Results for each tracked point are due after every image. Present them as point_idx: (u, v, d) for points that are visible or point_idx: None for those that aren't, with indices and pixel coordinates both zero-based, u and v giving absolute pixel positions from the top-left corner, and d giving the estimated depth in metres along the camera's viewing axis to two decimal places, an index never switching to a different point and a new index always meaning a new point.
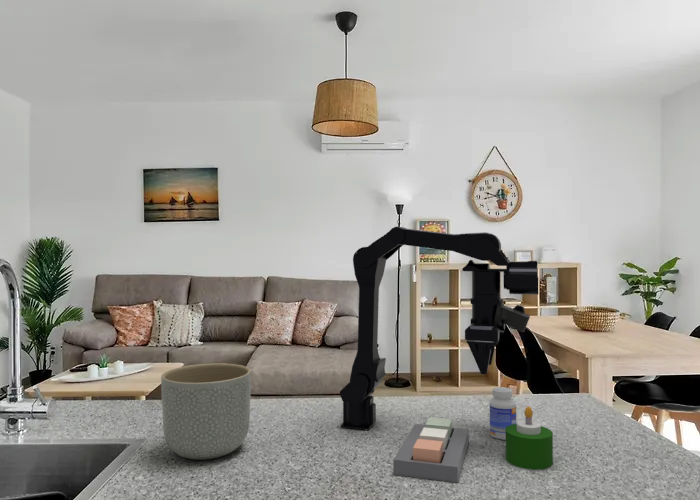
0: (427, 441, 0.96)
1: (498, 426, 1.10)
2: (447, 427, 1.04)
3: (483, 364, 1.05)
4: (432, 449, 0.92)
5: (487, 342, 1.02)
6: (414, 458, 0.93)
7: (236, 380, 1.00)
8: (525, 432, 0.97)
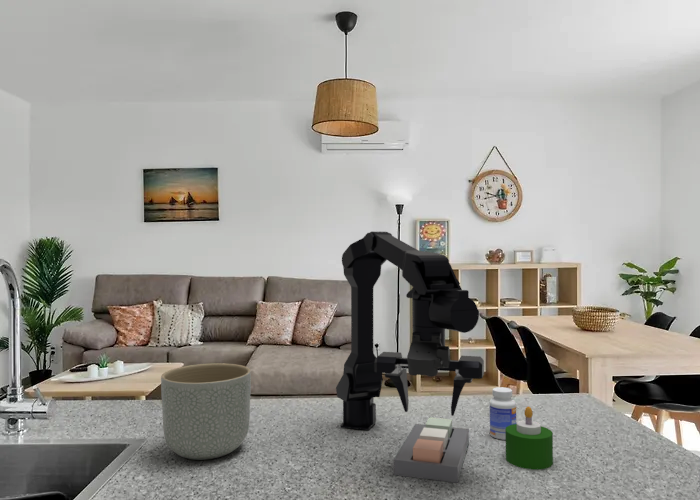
0: (427, 441, 0.96)
1: (498, 426, 1.10)
2: (447, 427, 1.04)
3: None
4: (432, 449, 0.92)
5: None
6: (414, 458, 0.93)
7: (236, 380, 1.00)
8: (525, 432, 0.97)
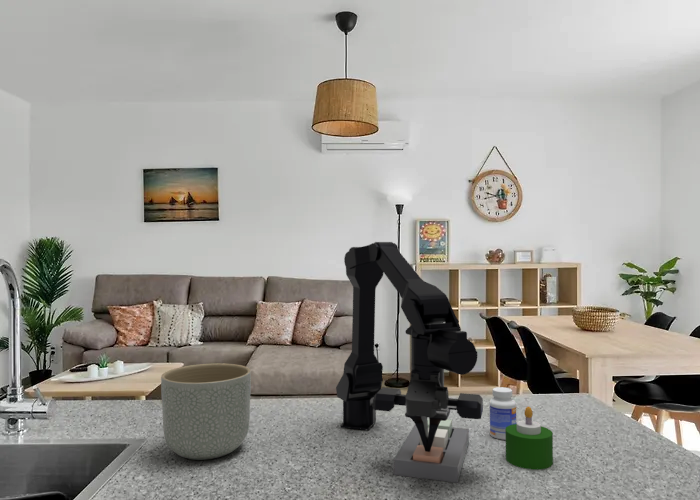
0: None
1: (498, 426, 1.10)
2: (447, 427, 1.04)
3: None
4: (432, 456, 0.92)
5: None
6: None
7: (236, 380, 1.00)
8: (525, 432, 0.97)
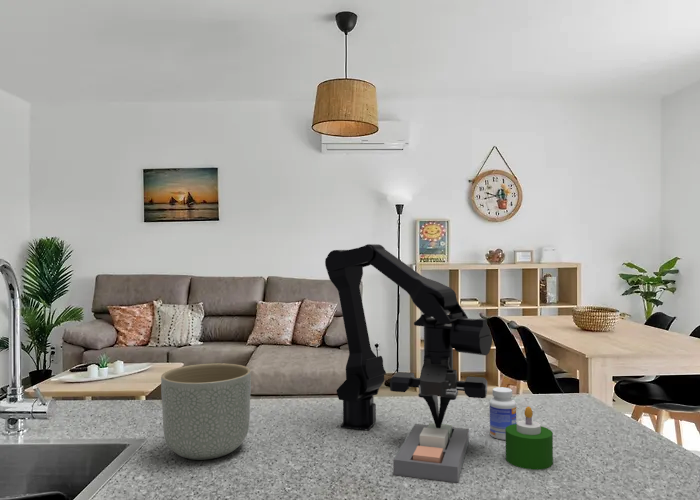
0: (427, 448, 0.96)
1: (498, 426, 1.10)
2: None
3: None
4: (432, 456, 0.92)
5: None
6: None
7: (236, 380, 1.00)
8: (525, 432, 0.97)
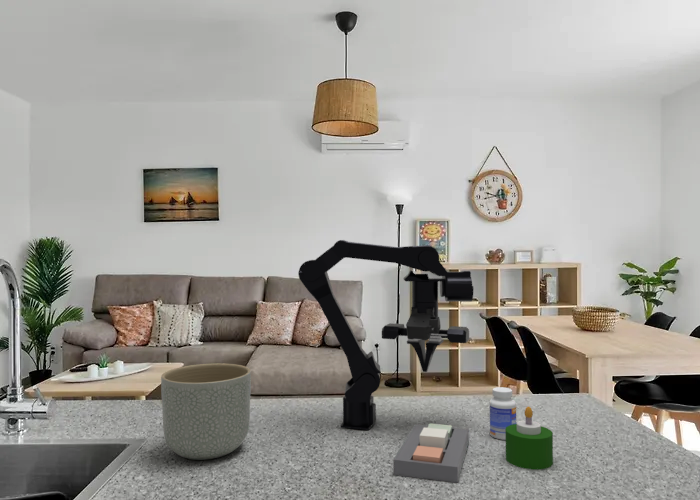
0: (427, 448, 0.96)
1: (498, 426, 1.10)
2: None
3: None
4: (432, 456, 0.92)
5: None
6: None
7: (236, 380, 1.00)
8: (525, 432, 0.97)
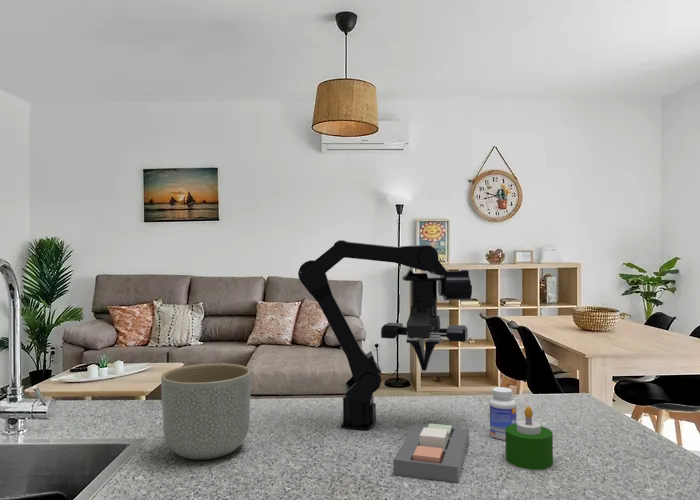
0: (427, 448, 0.96)
1: (498, 426, 1.10)
2: None
3: None
4: (432, 456, 0.92)
5: None
6: None
7: (236, 380, 1.00)
8: (525, 432, 0.97)
